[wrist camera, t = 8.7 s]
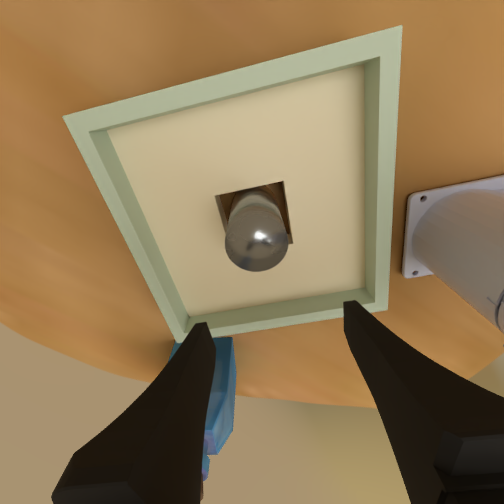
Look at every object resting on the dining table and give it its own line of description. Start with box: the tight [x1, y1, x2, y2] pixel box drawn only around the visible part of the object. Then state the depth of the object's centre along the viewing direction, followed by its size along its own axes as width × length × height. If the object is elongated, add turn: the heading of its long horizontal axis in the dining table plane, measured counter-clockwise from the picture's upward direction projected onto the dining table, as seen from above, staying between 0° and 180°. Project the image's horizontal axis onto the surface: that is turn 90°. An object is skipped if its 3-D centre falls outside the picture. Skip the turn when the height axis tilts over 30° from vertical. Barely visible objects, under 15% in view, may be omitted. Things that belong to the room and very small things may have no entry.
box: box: [62, 25, 402, 343], centre depth 19 cm, size 18×18×4 cm
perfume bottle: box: [168, 337, 236, 501], centre depth 23 cm, size 6×6×12 cm
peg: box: [225, 185, 288, 272], centre depth 17 cm, size 4×4×7 cm
